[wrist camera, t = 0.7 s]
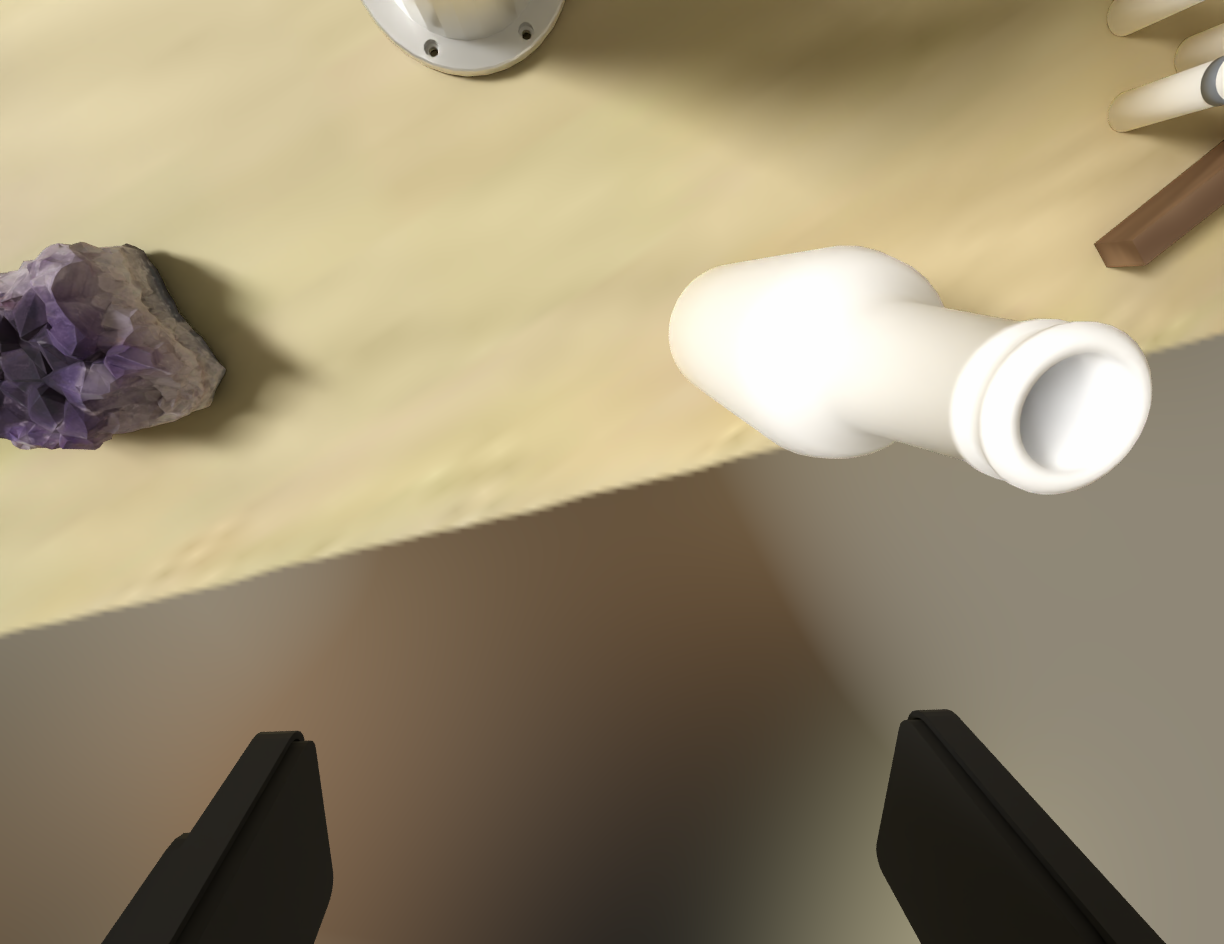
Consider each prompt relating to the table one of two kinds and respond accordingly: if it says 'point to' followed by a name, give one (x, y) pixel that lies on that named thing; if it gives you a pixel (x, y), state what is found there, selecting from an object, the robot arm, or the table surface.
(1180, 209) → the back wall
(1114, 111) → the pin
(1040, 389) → the alcohol
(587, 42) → the table surface
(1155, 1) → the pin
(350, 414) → the table surface
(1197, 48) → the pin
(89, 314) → the geode
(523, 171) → the table surface
